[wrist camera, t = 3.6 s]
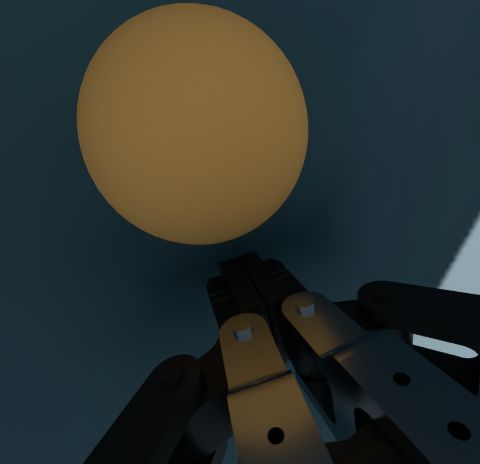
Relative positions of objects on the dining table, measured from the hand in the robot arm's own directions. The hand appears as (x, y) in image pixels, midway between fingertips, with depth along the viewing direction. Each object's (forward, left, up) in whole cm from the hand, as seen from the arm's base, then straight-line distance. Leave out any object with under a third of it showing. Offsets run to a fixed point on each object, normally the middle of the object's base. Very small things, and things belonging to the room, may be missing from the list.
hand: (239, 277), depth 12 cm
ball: (0, +6, +2) cm, 6 cm away
